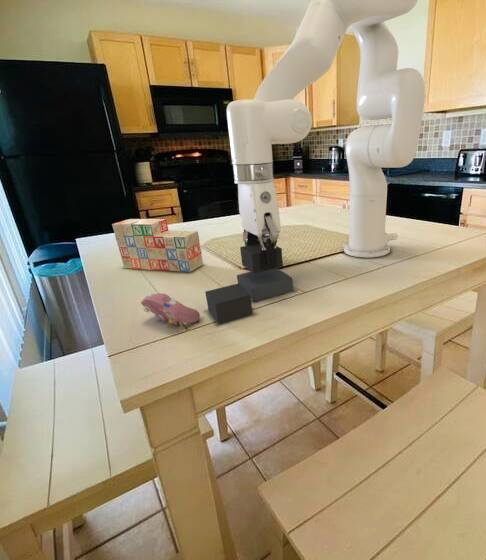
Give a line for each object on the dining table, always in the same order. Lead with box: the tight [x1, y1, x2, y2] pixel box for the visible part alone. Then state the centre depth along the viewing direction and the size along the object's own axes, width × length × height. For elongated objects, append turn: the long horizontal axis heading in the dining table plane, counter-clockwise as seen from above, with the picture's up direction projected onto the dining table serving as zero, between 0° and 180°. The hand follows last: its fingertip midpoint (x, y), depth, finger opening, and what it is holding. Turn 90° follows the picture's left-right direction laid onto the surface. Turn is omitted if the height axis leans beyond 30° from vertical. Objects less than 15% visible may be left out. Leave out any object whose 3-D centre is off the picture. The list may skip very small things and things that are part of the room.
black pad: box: [204, 283, 254, 325], centre depth 62 cm, size 6×6×4 cm
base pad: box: [236, 268, 294, 302], centre depth 72 cm, size 9×9×3 cm
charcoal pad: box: [239, 243, 284, 273], centre depth 69 cm, size 6×6×4 cm
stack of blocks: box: [111, 218, 204, 273], centre depth 88 cm, size 21×6×12 cm, turn 72°
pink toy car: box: [140, 292, 201, 326], centre depth 60 cm, size 10×5×7 cm, turn 56°
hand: (261, 262), depth 70 cm, fingers closed on charcoal pad, 6 cm apart
